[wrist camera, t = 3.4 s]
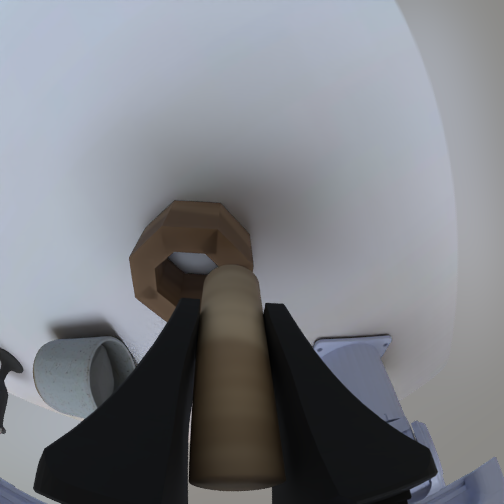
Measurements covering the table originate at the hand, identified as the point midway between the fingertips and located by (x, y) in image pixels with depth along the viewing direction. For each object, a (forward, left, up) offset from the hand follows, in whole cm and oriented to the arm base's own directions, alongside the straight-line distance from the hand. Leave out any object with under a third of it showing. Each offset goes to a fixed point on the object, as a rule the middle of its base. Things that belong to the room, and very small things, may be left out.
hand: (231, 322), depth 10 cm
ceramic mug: (-15, +12, -9) cm, 21 cm away
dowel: (0, 0, -2) cm, 2 cm away
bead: (-2, +2, -9) cm, 9 cm away
